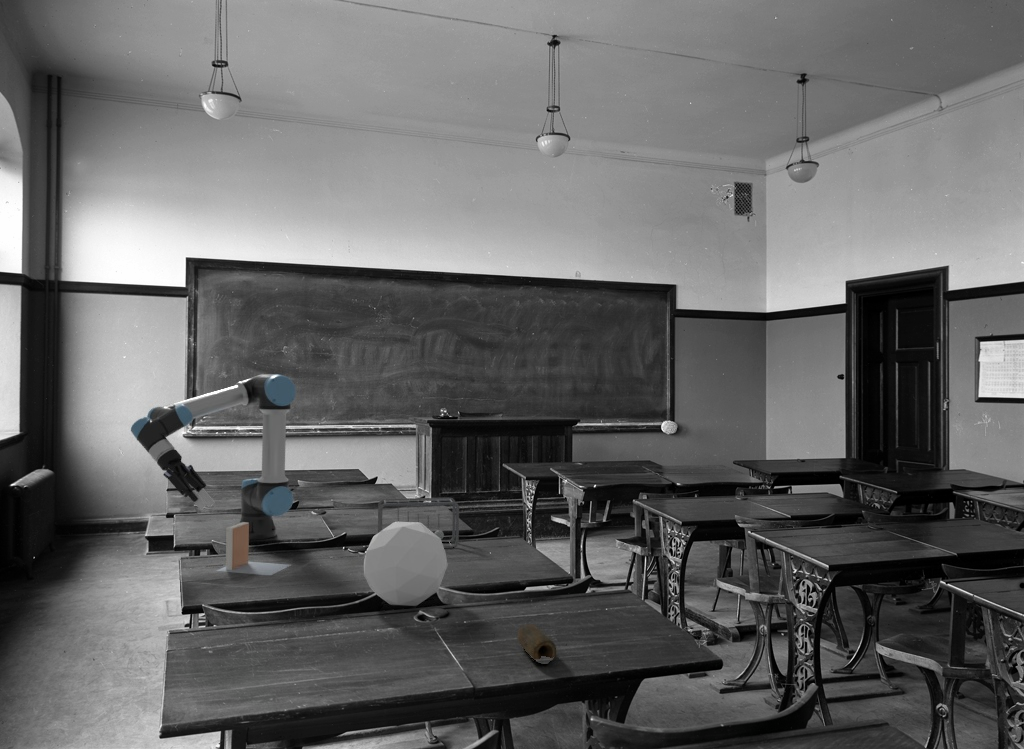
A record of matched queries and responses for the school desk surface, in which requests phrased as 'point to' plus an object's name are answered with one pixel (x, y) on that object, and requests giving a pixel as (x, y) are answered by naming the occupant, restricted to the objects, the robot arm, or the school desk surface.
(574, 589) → the school desk surface
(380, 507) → the newton's cradle
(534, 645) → the brown hollow tube
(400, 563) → the geometric polyhedron
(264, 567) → the mat
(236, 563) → the tile
